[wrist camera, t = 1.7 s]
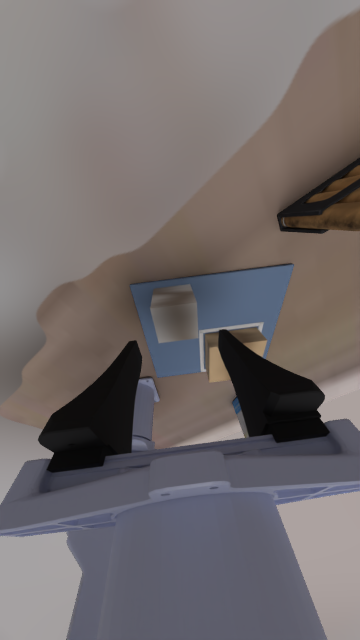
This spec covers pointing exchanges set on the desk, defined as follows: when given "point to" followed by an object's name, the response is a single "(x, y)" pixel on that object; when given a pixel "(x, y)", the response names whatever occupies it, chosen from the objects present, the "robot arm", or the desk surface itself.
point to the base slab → (213, 357)
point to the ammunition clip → (327, 205)
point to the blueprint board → (215, 312)
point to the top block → (174, 313)
